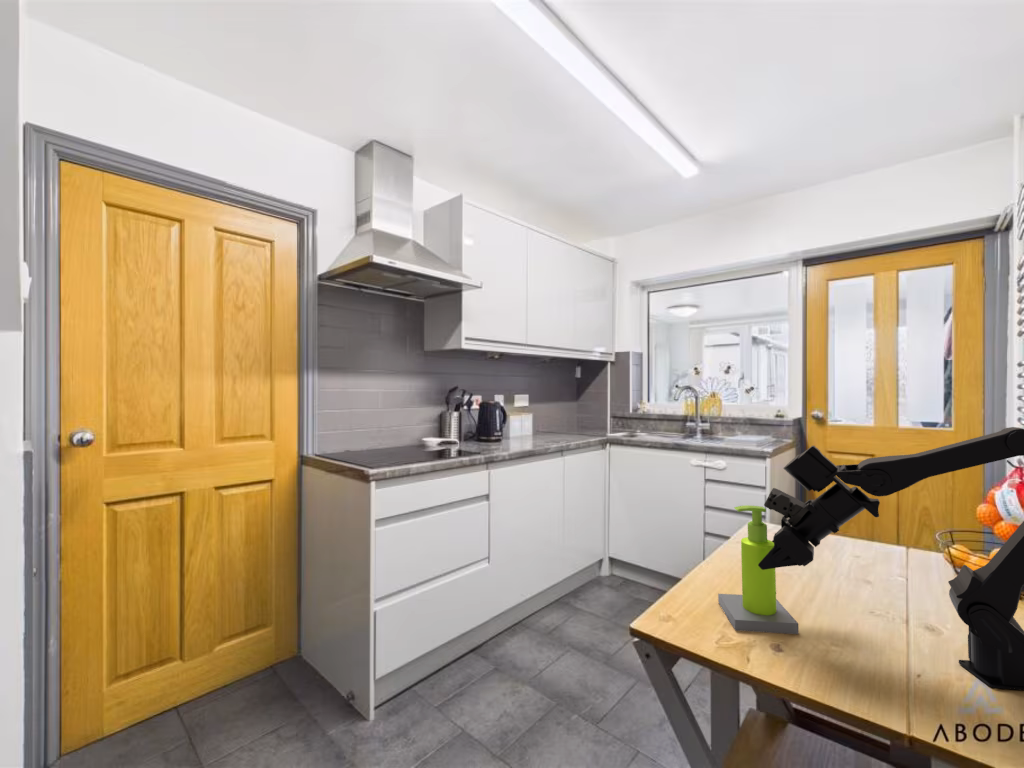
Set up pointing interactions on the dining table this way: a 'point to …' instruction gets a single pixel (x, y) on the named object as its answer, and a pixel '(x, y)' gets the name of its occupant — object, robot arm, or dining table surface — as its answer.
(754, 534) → the soap dispenser
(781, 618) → the slate stand
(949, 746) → the dining table surface
